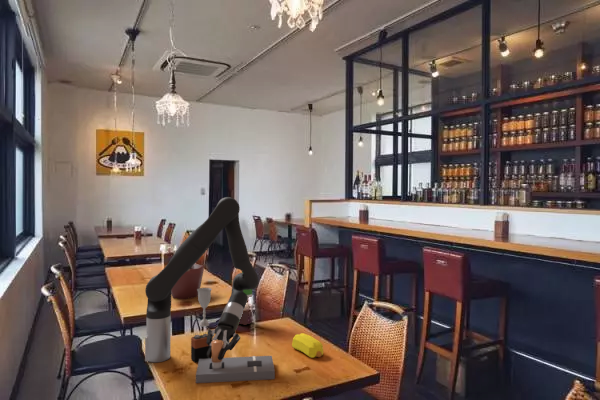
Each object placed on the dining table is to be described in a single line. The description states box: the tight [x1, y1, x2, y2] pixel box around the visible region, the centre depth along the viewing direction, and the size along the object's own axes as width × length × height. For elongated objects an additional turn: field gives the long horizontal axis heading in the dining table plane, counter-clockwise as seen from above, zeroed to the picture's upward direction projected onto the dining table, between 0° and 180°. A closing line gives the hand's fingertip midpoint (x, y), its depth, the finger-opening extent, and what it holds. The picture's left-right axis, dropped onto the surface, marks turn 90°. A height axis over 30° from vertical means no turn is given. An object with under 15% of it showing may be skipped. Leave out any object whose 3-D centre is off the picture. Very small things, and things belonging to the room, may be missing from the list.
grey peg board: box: [195, 355, 276, 384], centre depth 159 cm, size 28×14×3 cm, turn 98°
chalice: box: [197, 287, 213, 328], centre depth 213 cm, size 7×7×18 cm
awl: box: [211, 339, 223, 369], centre depth 158 cm, size 4×4×12 cm
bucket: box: [171, 263, 205, 300], centre depth 269 cm, size 24×22×25 cm
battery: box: [190, 333, 210, 363], centre depth 171 cm, size 4×7×10 cm, turn 126°
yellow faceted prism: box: [291, 332, 324, 359], centre depth 180 cm, size 18×7×8 cm
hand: (214, 358), depth 156 cm, fingers closed on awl, 4 cm apart
